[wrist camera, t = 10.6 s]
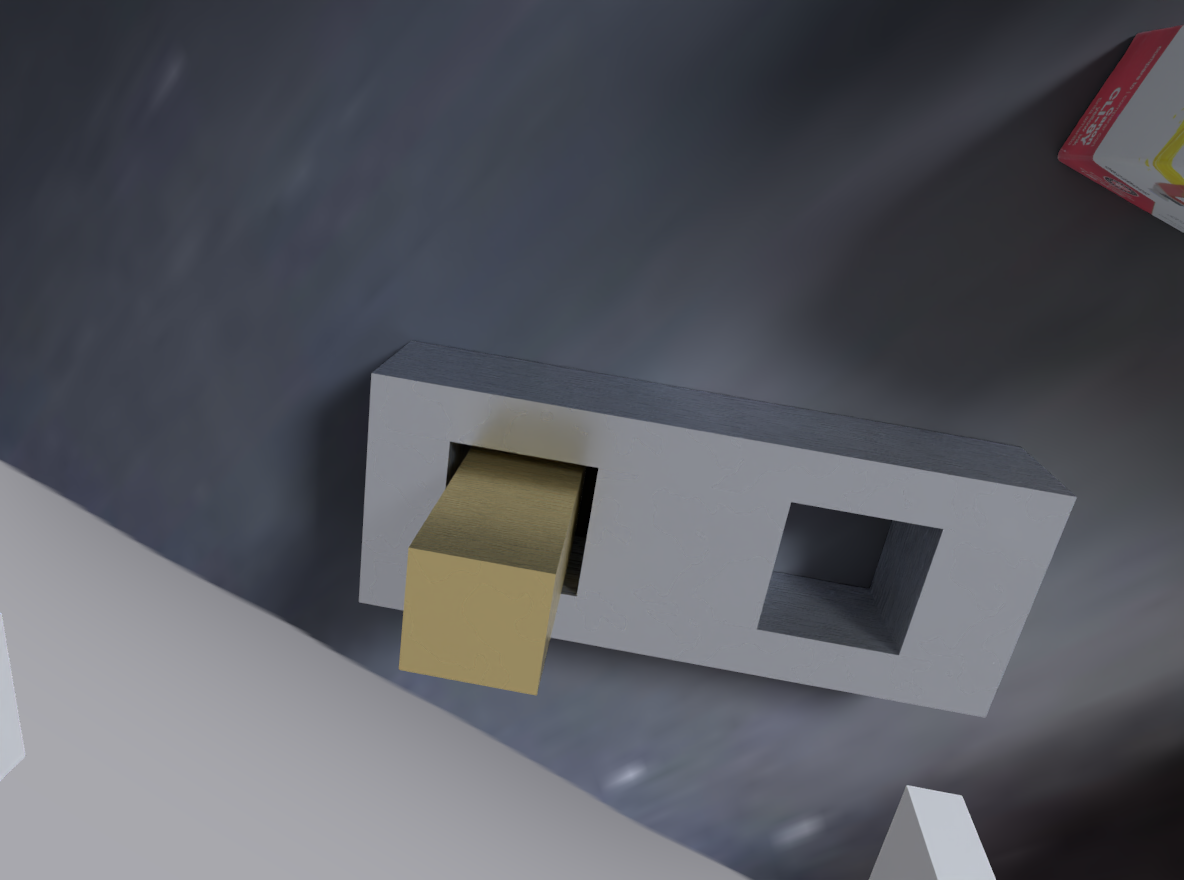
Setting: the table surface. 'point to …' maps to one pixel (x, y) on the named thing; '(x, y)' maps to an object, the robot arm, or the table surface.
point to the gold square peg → (491, 570)
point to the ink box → (1138, 128)
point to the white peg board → (732, 523)
